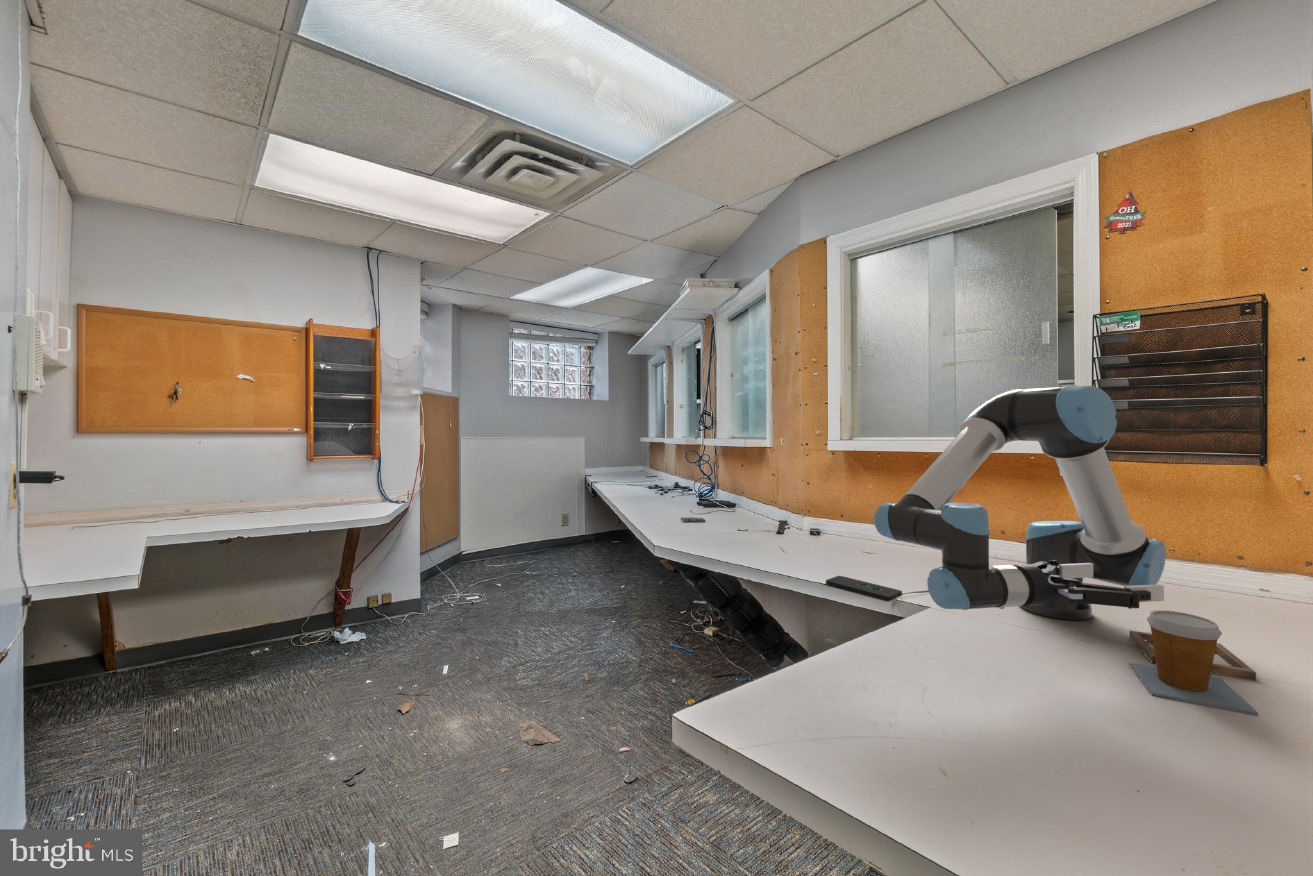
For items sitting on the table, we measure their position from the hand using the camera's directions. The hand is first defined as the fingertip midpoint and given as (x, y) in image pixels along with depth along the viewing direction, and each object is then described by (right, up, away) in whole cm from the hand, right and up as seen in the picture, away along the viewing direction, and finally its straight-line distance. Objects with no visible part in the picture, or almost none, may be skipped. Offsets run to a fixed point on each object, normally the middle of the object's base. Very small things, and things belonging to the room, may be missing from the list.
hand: (1124, 580), depth 95 cm
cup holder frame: (+21, -18, +9) cm, 29 cm away
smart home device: (-28, -19, +54) cm, 63 cm away
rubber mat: (+8, -19, -3) cm, 21 cm away
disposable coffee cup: (+8, -18, -3) cm, 20 cm away
